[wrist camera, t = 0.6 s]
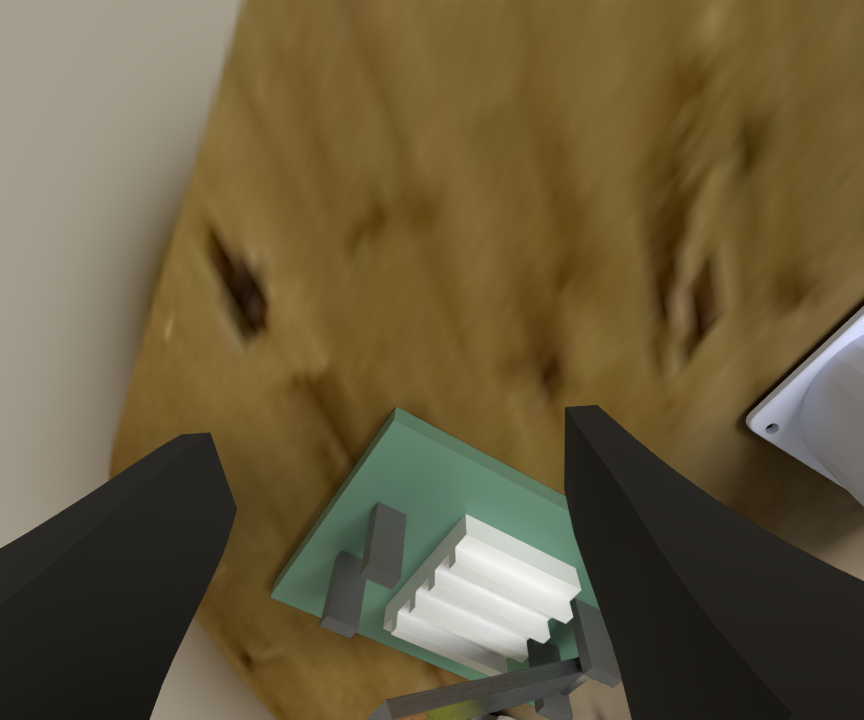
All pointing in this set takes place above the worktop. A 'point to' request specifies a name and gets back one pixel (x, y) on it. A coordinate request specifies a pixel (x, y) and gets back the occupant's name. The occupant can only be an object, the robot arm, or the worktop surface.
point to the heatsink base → (451, 563)
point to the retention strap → (485, 694)
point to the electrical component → (492, 717)
